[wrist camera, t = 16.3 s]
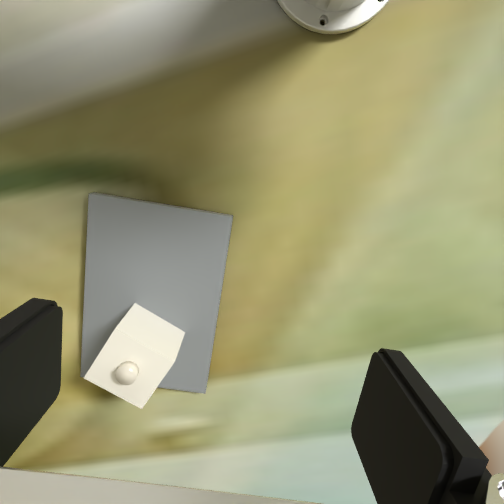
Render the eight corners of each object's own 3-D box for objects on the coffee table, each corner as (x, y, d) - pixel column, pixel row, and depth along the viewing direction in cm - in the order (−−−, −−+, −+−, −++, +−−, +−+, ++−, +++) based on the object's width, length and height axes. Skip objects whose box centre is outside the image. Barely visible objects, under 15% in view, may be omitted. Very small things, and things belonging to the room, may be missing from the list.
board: (93, 192, 37) (88, 193, 35) (233, 215, 38) (232, 217, 36) (85, 371, 42) (80, 376, 41) (206, 387, 43) (205, 393, 42)
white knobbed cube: (106, 346, 40) (78, 384, 33) (134, 302, 39) (111, 333, 32) (156, 373, 41) (138, 415, 34) (185, 332, 40) (172, 367, 33)
